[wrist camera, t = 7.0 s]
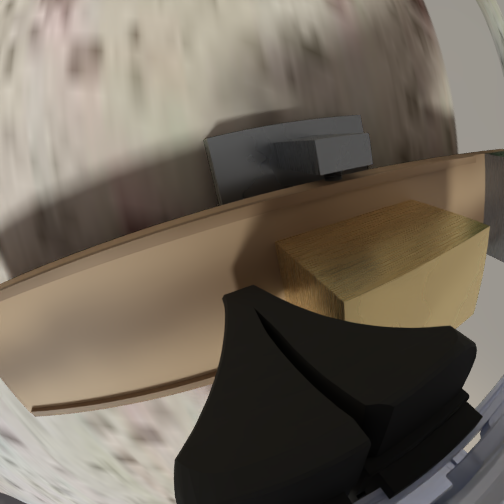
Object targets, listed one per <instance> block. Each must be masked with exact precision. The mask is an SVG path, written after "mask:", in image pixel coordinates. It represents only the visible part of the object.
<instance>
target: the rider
mask: <svg viewBox="0 0 504 504" xmlns="http://www.w3.org/2000/svg"><path fill="white" fill-rule="evenodd" d="M489 230H490V226H489V225H486V224H484V223H481V222H478V221H476V220H473V219H470V218H467V217H464V216H462V215H459V214H456V213H453V212H450V211H447V210H444V209H441V208H438V207H435V206H431V205H428V204H425V203H422V202H418V201H415V200H412V199H410V200H407V201H404V202H401V203H397V204H394V205H391V206H388V207H384V208H381V209H378V210H375V211H372V212H368V213H365V214H362V215H359V216H355V217H352V218H349V219H346V220H343V221H339V222H336V223H333V224H330V225H326V226H323V227H320V228H317V229H314V230H310V231H307V232H304V233H301V234H298V235H294V236H291V237H288V238H285V239H282V240H278V241H275V246H276V252H277V257H278V262H279V267H280V273H281V278H282V284H283V289H284V294H285V300H286V301H287V302H289V303H291V304H294V305H296V306H299V307H301V308H304V309H307V310H309V311H312V312H315V313H318V314H321V315H324V316H328V317H332V318H336V319H340V320H344V321H348V322H354V323H360V324H366V325H373V326H383V327H402V328H420V327H436V326H449V325H450V326H452V327H453V328H455V329H456V328H457V327H459V326H460V325H461V324H462V323H463V322H464V321H466V320H467V319H468V318H469V317H470V316H471V315H473V313H474V310H475V306H476V302H477V298H478V294H479V290H480V285H481V281H482V276H483V271H484V265H485V259H486V253H487V246H488V239H489Z"/></svg>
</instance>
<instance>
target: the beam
mask: <svg viewBox="0 0 504 504" xmlns="http://www.w3.org/2000/svg"><path fill="white" fill-rule="evenodd" d="M410 199H412V200H415V201H418V202H422V203H425V204H428V205H431V206H435V207H438V208H441V209H444V210H447V211H450V212H453V213H456V214H459V215H462V216H464V217H467V218H470V219H473V220H476V221H478V222H481V223H484V224H486V225H489V226H490V230H489V239H488V246H487V253H486V254H488V255H490V256H492V257H494V258H496V259H498V260H500V261H502V262H504V149H496V150H487V151H479V152H471V153H464V154H456V155H449V156H443V157H436V158H430V159H424V160H418V161H412V162H406V163H401V164H395V165H390V166H385V167H379V168H374V169H369V170H364V171H359V172H355V173H350V174H345V175H342V174H341V171H338V172H333V173H329V174H324V179H323V180H318V181H314V182H310V183H305V184H301V185H297V186H293V187H289V188H285V189H281V190H277V191H273V192H269V193H265V194H261V195H258V196H254V197H250V198H246V199H243V200H239V201H235V202H232V203H228V204H225V205H221V206H218V207H214V208H211V209H207V210H204V211H200V212H197V213H194V214H190V215H187V216H184V217H181V218H177V219H174V220H171V221H168V222H165V223H161V224H158V225H155V226H152V227H149V228H146V229H143V230H140V231H137V232H134V233H131V234H128V235H125V236H122V237H119V238H116V239H114V240H111V241H108V242H105V243H102V244H99V245H97V246H94V247H91V248H88V249H86V250H83V251H80V252H78V253H75V254H72V255H70V256H67V257H64V258H62V259H59V260H57V261H54V262H52V263H49V264H47V265H44V266H42V267H39V268H37V269H34V270H32V271H29V272H27V273H25V274H22V275H20V276H18V277H15V278H13V279H11V280H8V281H6V282H4V283H2V284H0V378H1V379H2V380H3V381H4V383H5V384H6V385H7V386H8V388H9V389H10V390H11V391H12V393H13V394H14V395H15V396H16V397H17V398H18V400H19V401H20V402H21V403H22V404H23V405H24V406H25V407H26V408H27V410H28V411H29V412H30V413H32V414H33V415H34V416H35V417H36V416H50V415H61V414H71V413H79V412H86V411H93V410H100V409H106V408H112V407H118V406H123V405H128V404H134V403H138V402H143V401H148V400H152V399H157V398H161V397H165V396H169V395H173V394H177V393H181V392H185V391H188V390H192V389H196V388H199V387H203V386H206V385H210V384H213V382H214V379H215V376H216V372H217V369H218V365H219V361H220V356H221V351H222V345H223V338H224V328H225V308H224V303H223V300H222V298H223V296H224V295H225V294H228V293H231V292H233V291H236V290H239V289H242V288H245V287H248V286H251V285H255V286H257V287H259V288H261V289H263V290H265V291H267V292H269V293H271V294H273V295H274V296H276V297H278V298H281V299H283V300H285V294H284V289H283V284H282V278H281V273H280V267H279V262H278V257H277V252H276V246H275V241H278V240H282V239H285V238H288V237H291V236H294V235H298V234H301V233H304V232H307V231H310V230H314V229H317V228H320V227H323V226H326V225H330V224H333V223H336V222H339V221H343V220H346V219H349V218H352V217H355V216H359V215H362V214H365V213H368V212H372V211H375V210H378V209H381V208H384V207H388V206H391V205H394V204H397V203H401V202H404V201H407V200H410ZM285 301H286V300H285Z"/></svg>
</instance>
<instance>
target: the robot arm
mask: <svg viewBox="0 0 504 504" xmlns="http://www.w3.org/2000/svg"><path fill="white" fill-rule="evenodd" d="M222 300H223V303H224V308H225V328H224V338H223V345H222V351H221V356H220V361H219V365H218V369H217V372H216V376H215V379H214V382H213V385H212V388H211V391H210V394H209V396H208V399H207V401H206V403H205V406H204V408H203V410H202V412H201V414H200V416H199V419H198V421H197V423H196V425H195V427H194V429H193V431H192V432H191V434H190V436H189V437H188V439H187V441H186V442H185V444H184V446H183V447H182V449H181V451H180V452H179V454H178V456H177V457H176V459H175V465H174V490H175V498H176V503H177V504H504V375H503V376H502V378H501V379H500V380H499V381H498V383H497V384H496V385H495V386H494V387H493V389H492V390H491V391H490V392H489V394H488V395H487V396H486V397H485V398H484V399H483V400H482V402H481V403H480V404H479V405H478V406H477V407H476V408H475V409H474V408H473V407H472V406H471V405H470V404H469V403H468V402H466V401H467V400H468V399H469V394H468V393H466V392H465V391H464V390H463V389H462V387H463V385H464V383H465V381H466V379H467V377H468V375H469V373H470V371H471V368H472V366H473V363H474V361H475V358H476V352H477V348H476V344H475V343H474V342H473V341H472V340H470V339H469V338H467V337H466V336H464V335H463V334H462V333H460V332H459V331H457V330H456V329H455V328H453V327H452V326H450V325H449V326H436V327H420V328H402V327H383V326H373V325H366V324H360V323H354V322H348V321H344V320H340V319H336V318H332V317H328V316H324V315H321V314H318V313H315V312H312V311H309V310H307V309H304V308H301V307H299V306H296V305H294V304H291V303H289V302H287V301H285V300H283V299H281V298H278V297H276V296H274V295H273V294H271V293H269V292H267V291H265V290H263V289H261V288H259V287H257V286H255V285H251V286H248V287H245V288H242V289H239V290H236V291H233V292H231V293H228V294H225V295H224V296H223V298H222ZM480 430H481V433H480V435H481V439H480V441H479V442H478V443H477V444H476V445H475V446H474V447H473V448H472V449H471V450H470V452H469V453H467V452H466V451H465V450H463V448H464V447H465V446H466V445H467V444H468V443H469V442H470V441H471V440H472V439H473V438H474V437H475V436H476V435H477V434H478V433H479V431H480Z"/></svg>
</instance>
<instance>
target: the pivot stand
mask: <svg viewBox="0 0 504 504" xmlns="http://www.w3.org/2000/svg"><path fill="white" fill-rule="evenodd" d="M204 145H205V149H206V153H207V157H208V161H209V166H210V170H211V174H212V178H213V182H214V186H215V190H216V194H217V198H218V202H219V206H221V205H225V204H228V203H232V202H235V201H239V200H243V199H246V198H250V197H254V196H258V195H261V194H265V193H269V192H273V191H277V190H281V189H285V188H289V187H293V186H297V185H301V184H305V183H310V182H314V181H318V180H323V179H324V174H329V173H333V172H338V171H341V174H342V175H345V174H350V173H355V172H359V171H364V170H368V165H372V164H373V161H372V153H371V145H370V138H369V133H363V127H362V121H361V115H351V116H339V117H328V118H319V119H310V120H302V121H295V122H288V123H281V124H275V125H269V126H263V127H258V128H253V129H247V130H242V131H237V132H233V133H228V134H224V135H219V136H215V137H211V138H207V139H204Z"/></svg>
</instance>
